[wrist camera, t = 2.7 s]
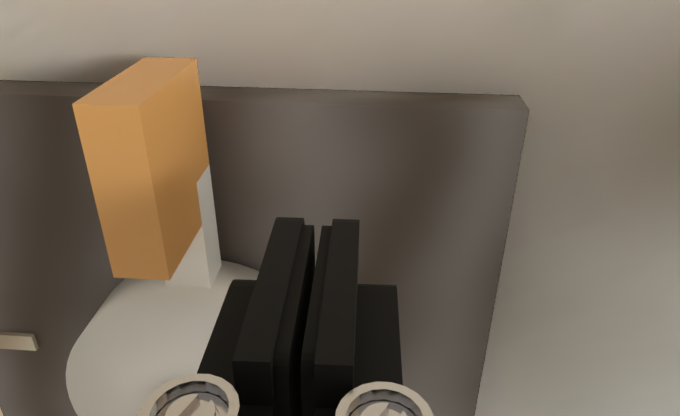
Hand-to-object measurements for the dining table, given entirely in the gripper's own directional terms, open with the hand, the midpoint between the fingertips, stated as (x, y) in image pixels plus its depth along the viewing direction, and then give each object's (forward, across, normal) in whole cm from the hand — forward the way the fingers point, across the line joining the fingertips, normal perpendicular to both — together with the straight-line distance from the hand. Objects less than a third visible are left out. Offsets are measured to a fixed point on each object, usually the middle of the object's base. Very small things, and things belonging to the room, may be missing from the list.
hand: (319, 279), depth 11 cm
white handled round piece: (+8, +5, +6) cm, 11 cm away
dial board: (+10, +5, +10) cm, 15 cm away
